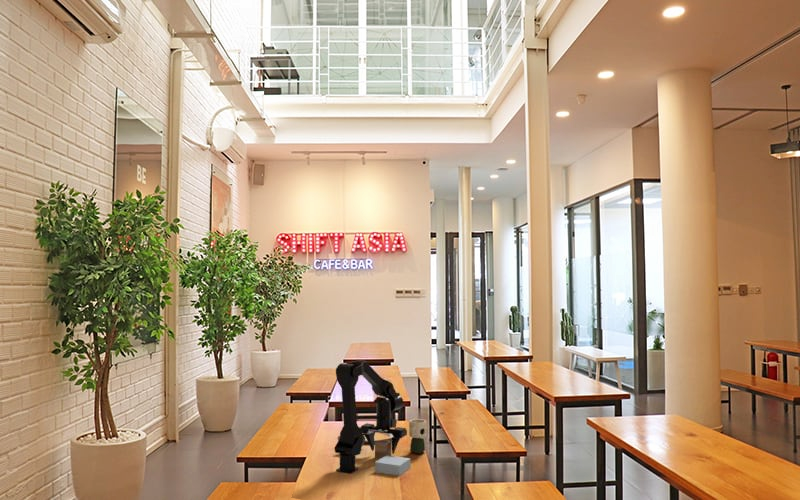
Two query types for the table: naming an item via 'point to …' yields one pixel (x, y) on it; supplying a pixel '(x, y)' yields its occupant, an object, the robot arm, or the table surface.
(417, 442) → the character mug
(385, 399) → the robot arm
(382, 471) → the slate block
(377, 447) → the walnut block
